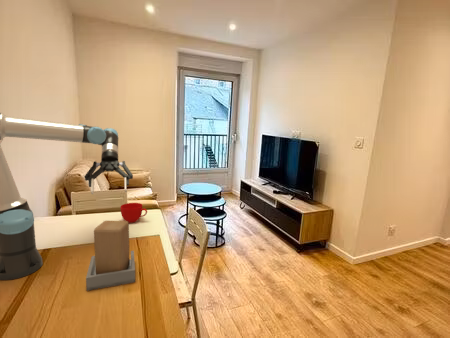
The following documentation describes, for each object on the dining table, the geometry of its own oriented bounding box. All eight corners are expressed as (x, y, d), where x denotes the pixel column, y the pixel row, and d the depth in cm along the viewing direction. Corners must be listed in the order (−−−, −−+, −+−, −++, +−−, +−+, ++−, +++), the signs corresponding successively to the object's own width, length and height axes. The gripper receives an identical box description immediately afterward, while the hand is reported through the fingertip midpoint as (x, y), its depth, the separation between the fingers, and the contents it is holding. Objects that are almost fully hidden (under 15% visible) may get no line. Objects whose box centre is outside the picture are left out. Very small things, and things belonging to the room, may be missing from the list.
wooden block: (130, 265, 105) (129, 220, 102) (121, 279, 95) (120, 229, 92) (106, 265, 104) (104, 219, 101) (94, 279, 95) (92, 229, 92)
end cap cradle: (86, 290, 89) (86, 278, 89) (92, 267, 104) (91, 256, 104) (135, 282, 95) (135, 270, 95) (133, 261, 110) (133, 250, 110)
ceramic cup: (141, 226, 150) (141, 210, 148) (116, 223, 153) (115, 207, 151) (152, 219, 162) (151, 204, 161) (128, 216, 165) (128, 202, 164)
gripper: (136, 159, 130) (138, 194, 119) (82, 159, 121) (78, 197, 110) (136, 150, 125) (138, 185, 113) (79, 149, 116) (75, 188, 104)
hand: (109, 191), depth 111 cm, fingers open, 13 cm apart
